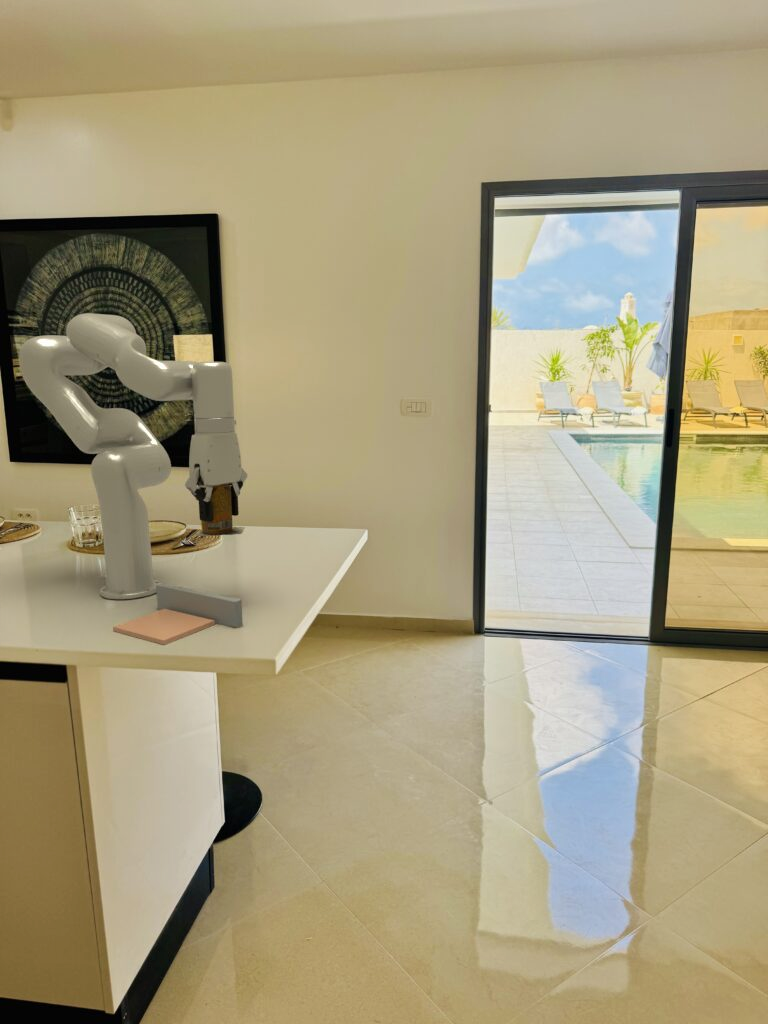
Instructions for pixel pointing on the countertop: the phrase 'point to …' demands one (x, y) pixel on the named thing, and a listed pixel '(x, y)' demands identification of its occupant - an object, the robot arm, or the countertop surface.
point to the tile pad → (163, 626)
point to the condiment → (220, 514)
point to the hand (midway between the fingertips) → (219, 517)
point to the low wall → (200, 604)
